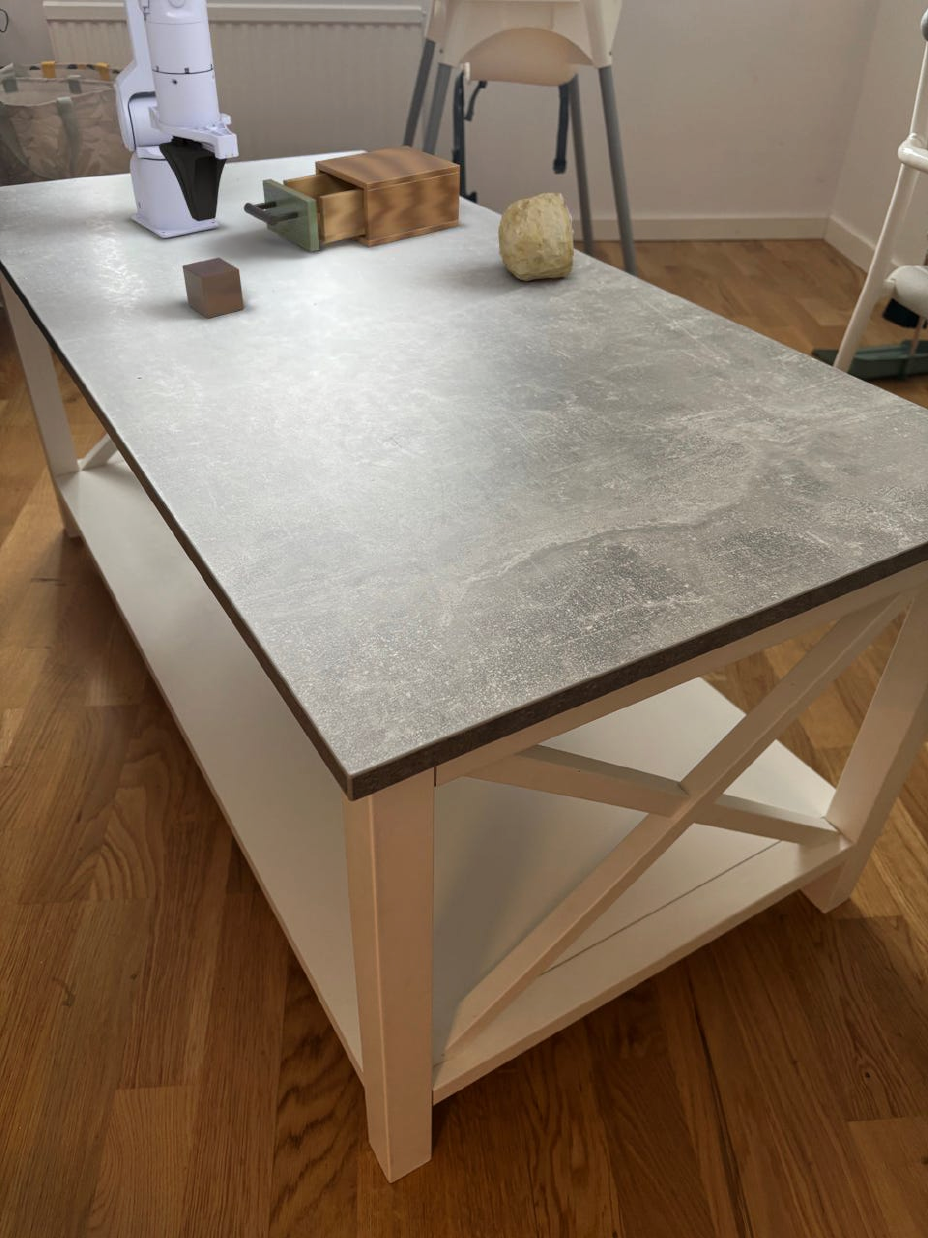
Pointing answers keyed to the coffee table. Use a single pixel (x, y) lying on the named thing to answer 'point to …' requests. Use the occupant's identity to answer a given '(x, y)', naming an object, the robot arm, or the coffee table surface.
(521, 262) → the beige lumpy stone
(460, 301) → the coffee table surface
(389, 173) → the cabinet
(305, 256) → the coffee table surface
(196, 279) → the block
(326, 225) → the drawer
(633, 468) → the coffee table surface
